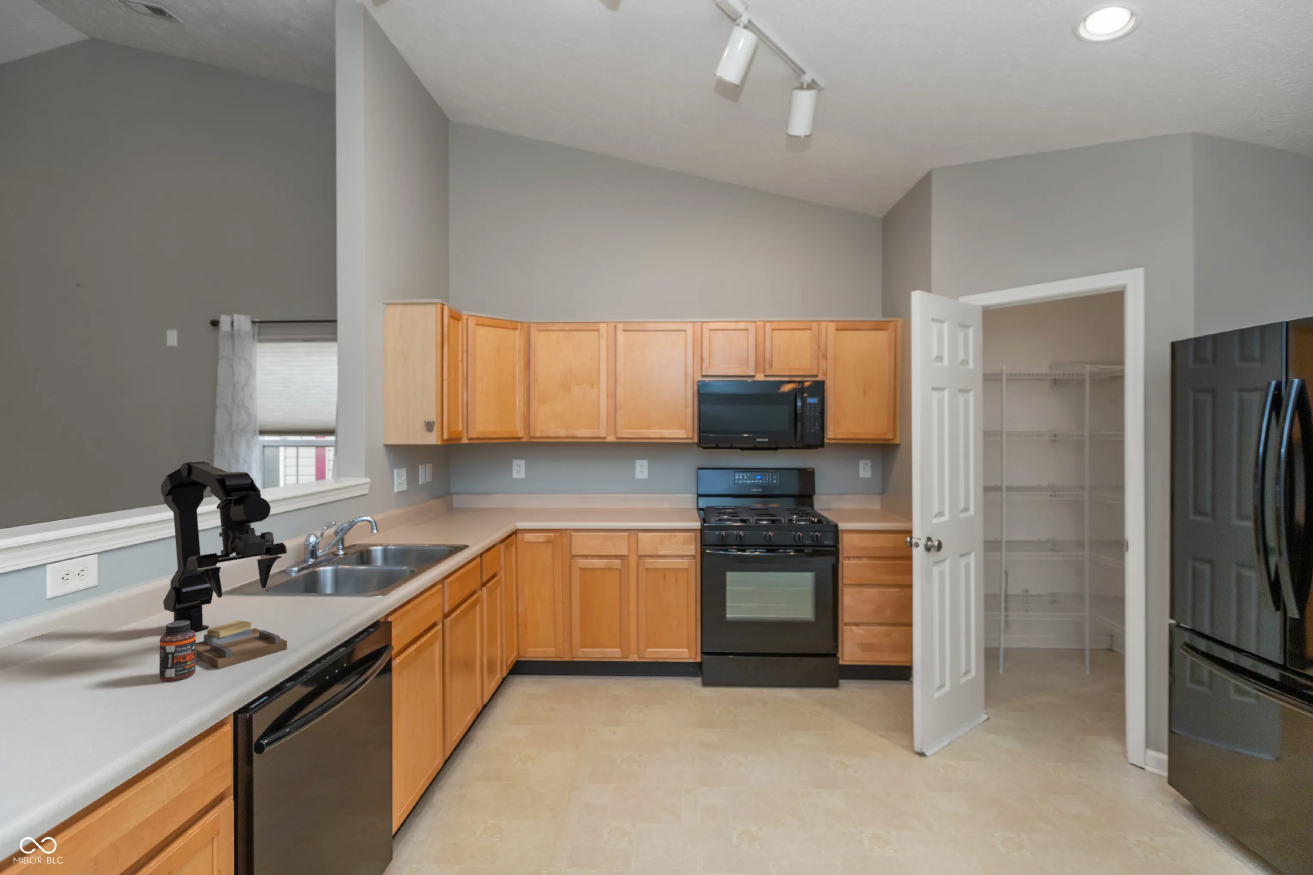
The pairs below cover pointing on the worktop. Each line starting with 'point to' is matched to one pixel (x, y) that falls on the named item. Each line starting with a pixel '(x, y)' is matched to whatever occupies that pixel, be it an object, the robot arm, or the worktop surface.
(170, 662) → the supplement bottle
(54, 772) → the worktop surface
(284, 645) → the shelf board
